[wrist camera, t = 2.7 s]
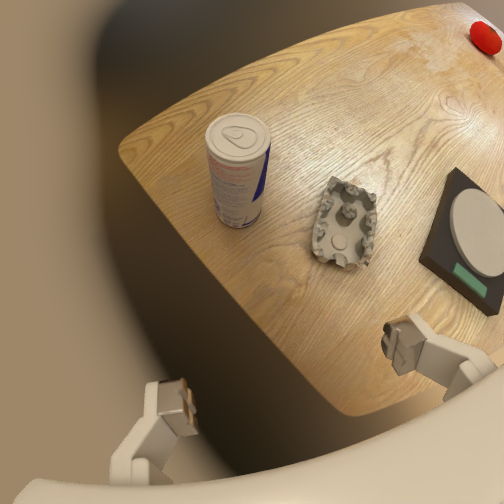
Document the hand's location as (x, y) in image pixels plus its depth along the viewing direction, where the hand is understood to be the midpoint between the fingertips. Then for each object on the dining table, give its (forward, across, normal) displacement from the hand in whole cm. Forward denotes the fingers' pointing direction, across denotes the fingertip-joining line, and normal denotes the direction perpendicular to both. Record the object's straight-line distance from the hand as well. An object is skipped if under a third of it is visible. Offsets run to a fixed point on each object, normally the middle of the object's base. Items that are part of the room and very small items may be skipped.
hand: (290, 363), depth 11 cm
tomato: (+63, -90, -25) cm, 113 cm away
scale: (+21, -35, +14) cm, 43 cm away
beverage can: (+29, -1, +5) cm, 30 cm away
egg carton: (+25, -13, +9) cm, 30 cm away
